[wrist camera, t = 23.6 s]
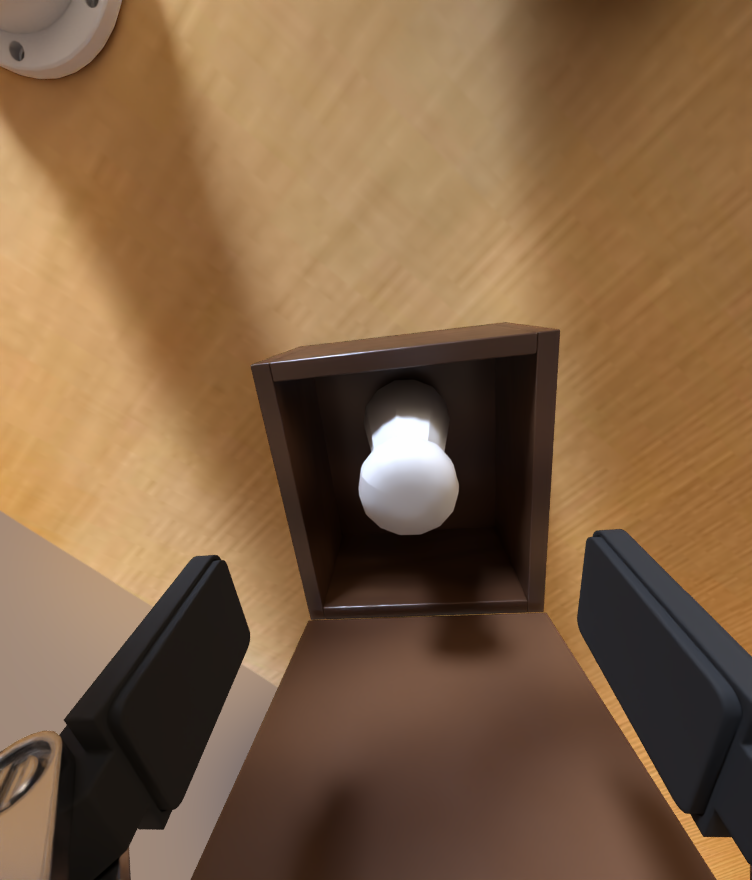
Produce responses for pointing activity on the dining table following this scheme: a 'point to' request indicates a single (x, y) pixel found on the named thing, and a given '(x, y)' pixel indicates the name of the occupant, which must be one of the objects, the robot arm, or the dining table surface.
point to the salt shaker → (407, 459)
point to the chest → (467, 445)
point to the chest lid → (443, 764)
